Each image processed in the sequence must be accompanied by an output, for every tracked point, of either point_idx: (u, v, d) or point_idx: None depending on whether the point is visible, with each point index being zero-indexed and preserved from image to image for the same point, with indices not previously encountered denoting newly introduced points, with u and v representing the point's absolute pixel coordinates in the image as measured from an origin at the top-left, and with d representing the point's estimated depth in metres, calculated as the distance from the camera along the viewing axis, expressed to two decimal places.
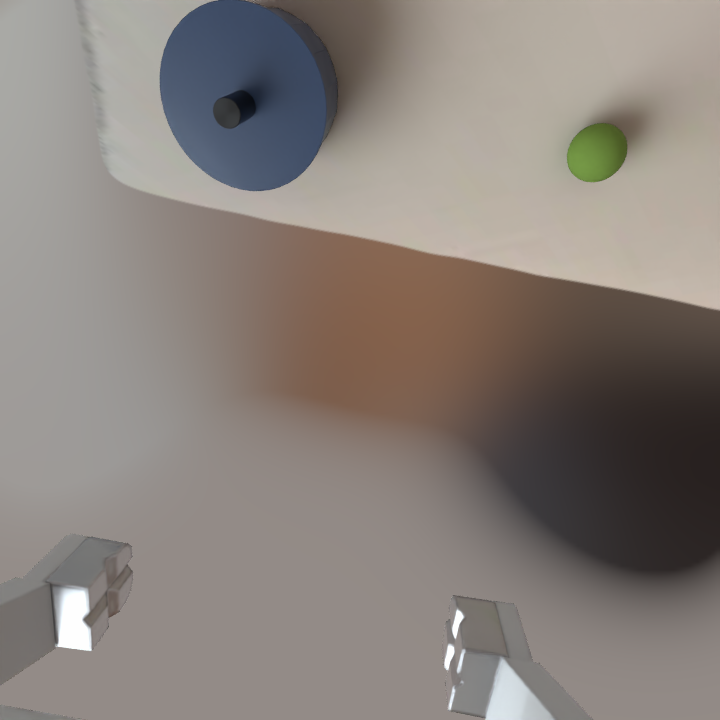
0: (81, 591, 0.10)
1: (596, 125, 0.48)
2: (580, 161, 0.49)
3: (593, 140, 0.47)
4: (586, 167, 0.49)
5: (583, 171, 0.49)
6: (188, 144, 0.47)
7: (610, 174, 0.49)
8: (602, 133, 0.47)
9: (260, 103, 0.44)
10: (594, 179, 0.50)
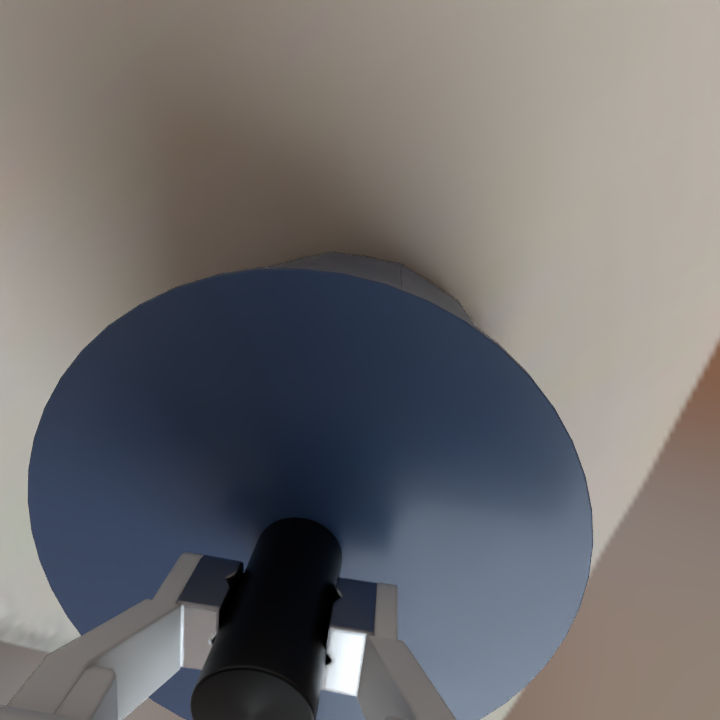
0: (211, 612, 0.10)
1: None
2: None
3: None
4: None
5: None
6: None
7: None
8: None
9: (298, 501, 0.13)
10: None
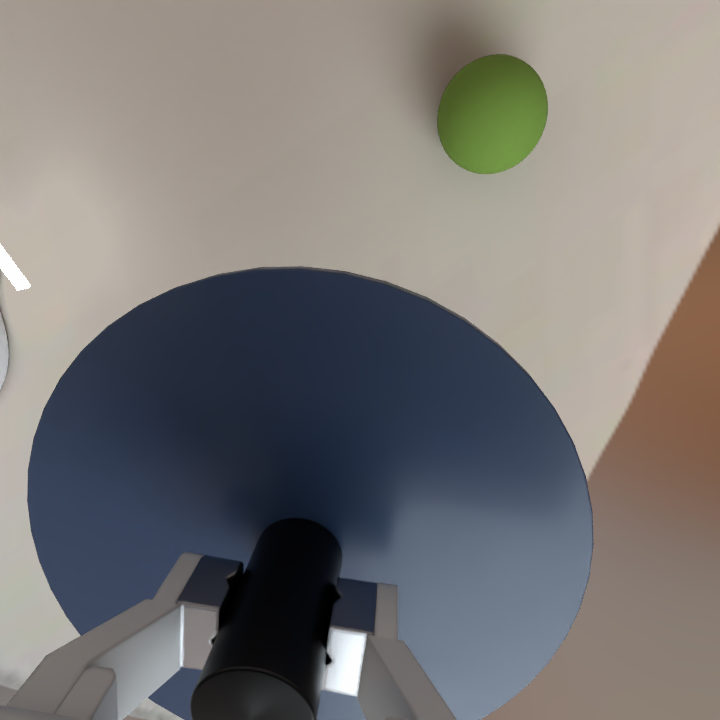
0: (211, 612, 0.10)
1: (438, 126, 0.26)
2: (497, 154, 0.24)
3: (461, 133, 0.24)
4: (511, 140, 0.24)
5: (519, 144, 0.24)
6: None
7: (536, 84, 0.23)
8: (451, 116, 0.24)
9: (298, 501, 0.13)
10: (540, 118, 0.24)
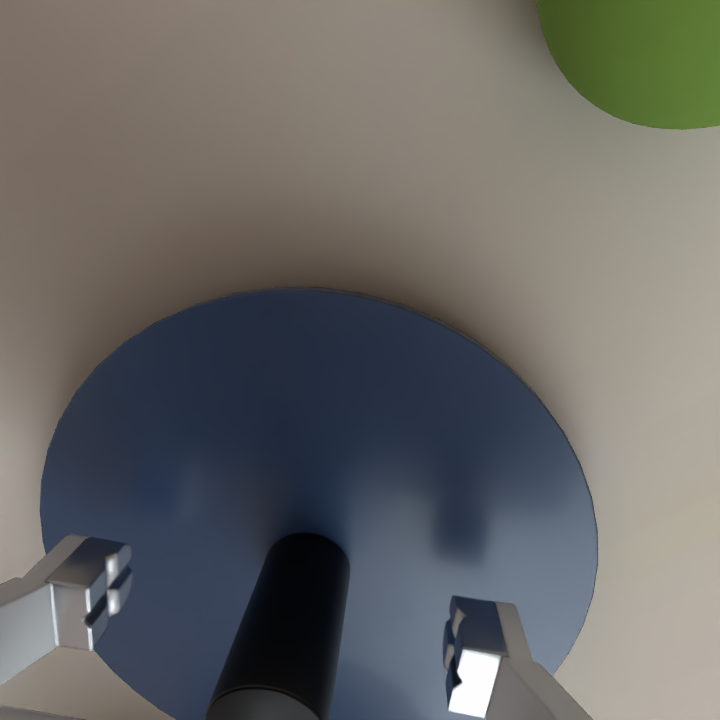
0: (81, 591, 0.10)
1: None
2: None
3: None
4: None
5: None
6: None
7: None
8: None
9: (308, 516, 0.13)
10: None
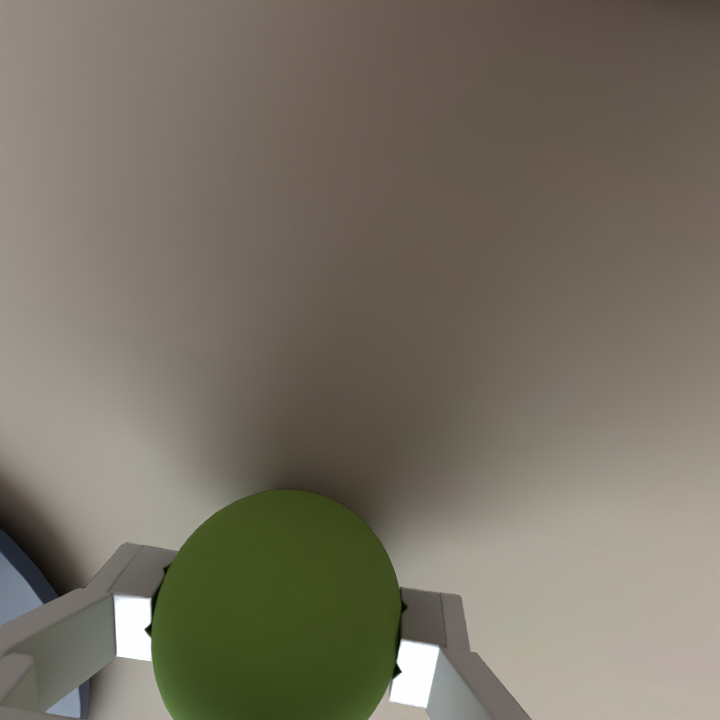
0: (144, 601, 0.10)
1: (176, 556, 0.11)
2: None
3: (158, 667, 0.09)
4: None
5: None
6: None
7: (361, 714, 0.09)
8: (170, 616, 0.09)
9: None
10: None
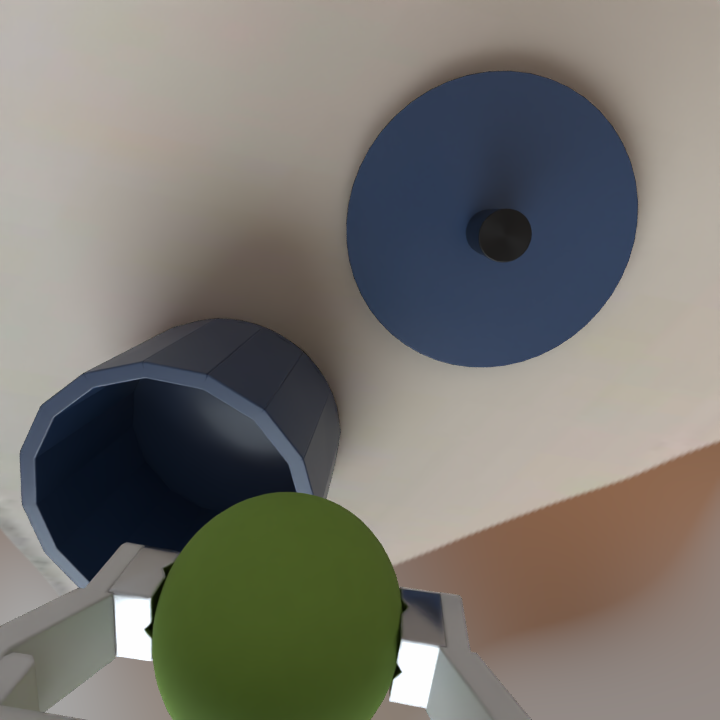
0: (144, 601, 0.10)
1: (177, 559, 0.11)
2: None
3: (159, 669, 0.09)
4: None
5: None
6: (432, 344, 0.28)
7: (362, 717, 0.09)
8: (171, 619, 0.09)
9: None
10: None
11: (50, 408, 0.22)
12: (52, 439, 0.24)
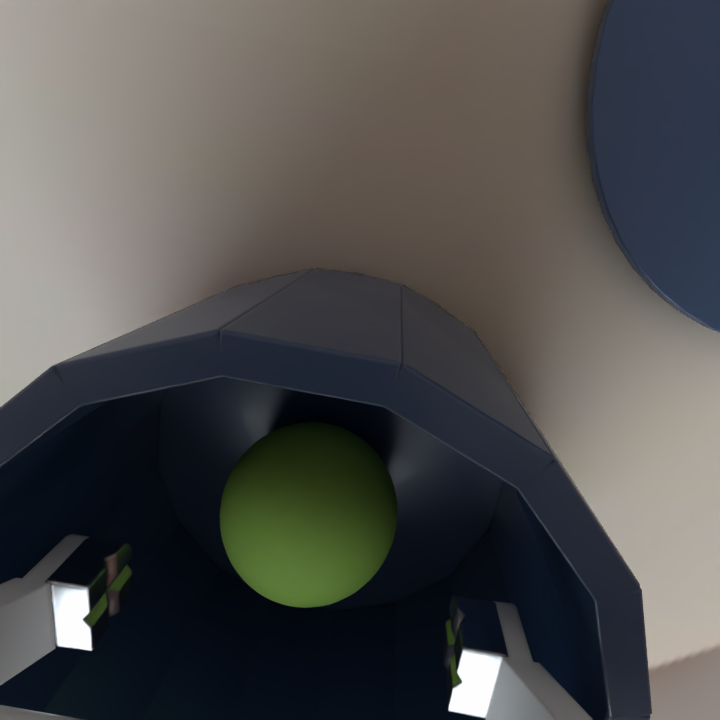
0: (81, 591, 0.10)
1: (236, 463, 0.15)
2: (253, 588, 0.14)
3: (227, 529, 0.14)
4: (275, 600, 0.14)
5: (286, 604, 0.14)
6: None
7: (364, 567, 0.14)
8: (235, 494, 0.14)
9: None
10: (338, 600, 0.14)
11: None
12: None
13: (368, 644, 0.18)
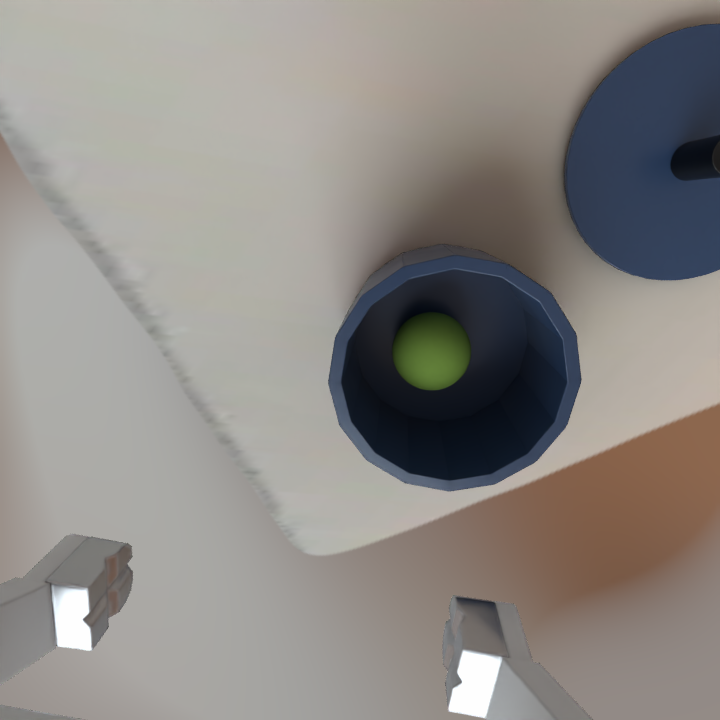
0: (81, 591, 0.10)
1: (400, 327, 0.35)
2: (405, 376, 0.34)
3: (397, 348, 0.33)
4: (414, 379, 0.33)
5: (418, 384, 0.33)
6: (631, 260, 0.34)
7: (453, 367, 0.32)
8: (401, 334, 0.33)
9: None
10: (441, 384, 0.33)
11: (369, 297, 0.27)
12: None
13: (460, 427, 0.37)
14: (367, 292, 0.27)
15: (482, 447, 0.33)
